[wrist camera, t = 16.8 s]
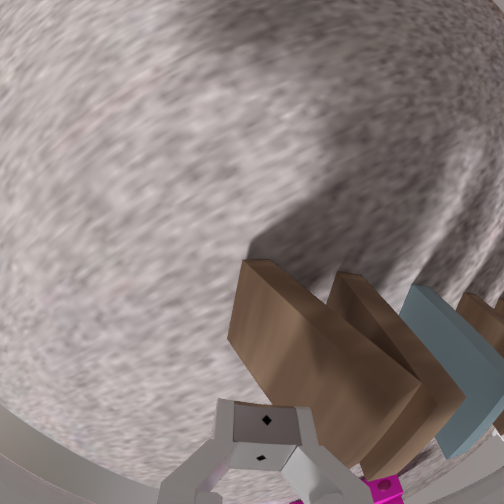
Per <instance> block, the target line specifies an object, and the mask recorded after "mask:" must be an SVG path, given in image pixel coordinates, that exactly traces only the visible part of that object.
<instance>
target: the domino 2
mask: <svg viewBox="0 0 504 504" xmlns="http://www.w3.org/2000/svg"><path fill="white" fill-rule="evenodd" d="M326 305H327V306H328V307H329V308H330V309H332V310H333V311H334V312H335V313H337V314H338V315H339V316H340V317H342V318H343V319H344V320H345V321H347V322H348V323H349V324H350V325H351V326H353V327H354V328H355V329H356V330H358V331H359V332H360V333H361V334H363V335H364V336H365V337H366V338H368V339H369V340H370V341H371V342H372V343H374V344H375V345H376V346H377V347H379V348H380V349H381V350H382V351H384V352H385V353H386V354H387V355H388V356H390V357H391V358H392V359H393V360H395V361H396V362H397V363H398V364H400V365H401V366H402V367H403V368H404V369H406V370H407V371H408V372H409V373H411V374H412V375H413V376H414V377H415V378H417V379H418V380H419V381H420V382H422V384H421V385H420V387H419V388H418V390H417V391H416V393H415V394H414V396H413V397H412V398H411V400H410V401H409V403H408V404H407V406H406V407H405V408H404V410H403V411H402V412H401V414H400V415H399V416H398V418H397V419H396V420H395V421H394V423H393V424H392V425H391V427H390V428H389V429H388V430H387V432H386V433H385V434H384V435H383V436H382V438H381V439H380V440H379V441H378V442H377V443H376V445H375V446H374V447H373V448H372V449H371V450H370V451H369V453H368V454H367V455H366V456H365V457H364V458H363V459H362V460H361V461H360V462H359V463H360V465H361V468H362V471H363V473H364V476H365V479H366V481H367V482H369V481H373V480H377V479H381V478H385V477H388V476H392V475H395V474H397V473H398V472H400V471H401V470H402V469H403V468H404V467H405V466H406V465H407V464H408V463H409V462H410V461H411V460H412V459H413V458H414V457H415V456H416V455H417V454H418V453H419V452H420V451H421V450H422V449H423V448H424V447H425V446H426V445H427V444H428V443H429V442H430V441H431V440H432V439H433V438H434V437H435V435H436V434H437V433H438V432H439V431H440V430H441V429H442V427H443V426H444V425H445V424H446V423H447V422H448V420H449V419H450V418H451V417H452V416H453V414H454V413H455V412H456V410H457V409H458V408H459V407H460V405H461V404H462V403H463V401H464V400H465V399H466V395H465V394H464V393H463V392H462V390H461V389H460V388H459V386H458V385H457V384H456V383H455V381H454V380H453V379H452V378H451V376H450V375H449V374H448V373H447V371H446V370H445V369H444V368H443V367H442V365H441V364H440V363H439V362H438V360H437V359H436V358H435V357H434V356H433V354H432V353H431V352H430V351H429V350H428V349H427V347H426V346H425V345H424V344H423V343H422V342H421V340H420V339H419V338H418V337H417V336H416V335H415V333H414V332H413V331H412V330H411V329H410V328H409V327H408V325H407V324H406V323H405V322H404V321H403V320H402V319H401V318H400V316H399V315H398V314H397V313H396V312H395V311H394V310H393V309H392V308H391V307H390V305H389V304H388V303H387V302H386V301H385V300H384V299H383V298H382V297H381V296H380V295H379V294H378V292H377V291H376V290H375V289H374V288H373V287H372V286H371V285H370V284H369V283H368V282H367V281H366V280H365V279H364V278H363V277H362V276H361V275H356V274H349V273H343V272H337V274H336V277H335V280H334V283H333V286H332V289H331V292H330V295H329V298H328V301H327V304H326Z"/></svg>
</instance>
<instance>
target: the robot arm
mask: <svg viewBox="0 0 504 504" xmlns="http://www.w3.org/2000/svg"><path fill="white" fill-rule="evenodd" d="M497 434H498V435H499V436H500V434H499V433H498V431H497V430H496V428H495V429H494V431H493V433H492V435H493V436H496V435H497ZM500 437H501V439H502V440H503V441H504V435H502V436H500ZM229 468H232V469H247V470H264V471H281V472H280V473H281V474H282V476H283V477H284V478H285V480H286V481H287V482H288V484H289V485H290V486H291V487H292V489H293V490H294V491H295V493H296V494H297V495H298V496H299V498H300V499H301V500H302V501H303V503H304V504H374V502H373V498H372V495H371V491H370V488H369V487H368V486H367V485H366V484H365V483H364V482H363V481H361V480H360V479H359V478H358V477H357V476H356V475H355V474H353V473H352V472H351V471H350V470H349V469H348V468H347V467H346V466H345V465H343V464H342V463H341V462H340V461H339V460H338V459H337V458H336V457H335V456H334V455H333V454H332V453H331V452H329V451H328V450H327V449H326V448H325V447H324V446H319V443H318V438H317V434H316V429H315V425H314V420H313V416H312V411H311V409H310V408H309V407H294V406H281V405H266V404H264V405H262V404H254V403H247V402H240V401H232V400H226V399H220V398H218V400H217V405H216V410H215V415H214V420H213V426H212V433H211V439H208V440H207V441H206V442H205V443H204V444H203V445H202V446H201V447H200V448H199V449H198V450H197V451H196V452H195V453H194V454H192V455H191V456H190V457H189V458H188V459H187V460H186V461H185V462H184V463H183V464H182V465H180V466H179V467H178V468H177V469H176V470H175V471H174V472H173V473H171V474H170V475H169V476H168V477H167V478H166V479H164V480H163V481H162V482H161V486H160V491H159V496H158V501H157V504H222V496H220V495H219V494H218V493H215V492H210V491H211V490H212V489H213V488H214V487H215V486H216V484H217V483H218V482H219V481H220V480H221V479H222V477H223V476H224V475H225V474H226V473H227V471H228V470H229ZM0 504H96V503H93V502H91V501H88V500H86V499H84V498H81V497H79V496H76V495H74V494H72V493H70V492H67V491H65V490H63V489H61V488H59V487H57V486H55V485H53V484H51V483H49V482H47V481H45V480H43V479H41V478H40V477H38V476H36V475H34V474H32V473H31V472H29V471H27V470H26V469H24V468H22V467H20V466H19V465H17V464H16V463H14V462H13V461H11V460H10V459H8V458H7V457H5V456H4V455H2V454H1V453H0ZM428 504H504V466H503V467H501V468H500V469H498V470H496V471H495V472H493V473H491V474H489V475H488V476H486V477H485V478H483V479H480V480H479V481H477V482H475V483H473V484H471V485H469V486H467V487H465V488H463V489H461V490H459V491H457V492H455V493H452V494H450V495H448V496H446V497H443V498H441V499H439V500H436V501H433V502H431V503H428Z"/></svg>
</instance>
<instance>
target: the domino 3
mask: <svg viewBox="0 0 504 504" xmlns="http://www.w3.org/2000/svg"><path fill="white" fill-rule="evenodd" d="M399 316H400V318H401V319H402V320H403V321H404V322H405V323H406V324H407V325H408V327H409V328H410V329H411V330H412V331H413V332H414V333H415V335H416V336H417V337H418V338H419V339H420V340H421V342H422V343H423V344H424V345H425V346H426V347H427V349H428V350H429V351H430V352H431V353H432V354H433V356H434V357H435V358H436V359H437V360H438V362H439V363H440V364H441V365H442V367H443V368H444V369H445V370H446V371H447V373H448V374H449V375H450V376H451V378H452V379H453V380H454V381H455V383H456V384H457V385H458V386H459V388H460V389H461V390H462V392H463V393H464V394H465V395H466V399H465V400H464V401H463V403H462V404H461V405H460V407H459V408H458V409H457V410H456V412H455V413H454V414H453V416H452V417H451V418H450V419H449V420H448V422H447V423H446V424H445V425H444V426H443V427H442V429H441V430H440V431H439V432H438V433H437V434H436V435H435V438H436V440H437V442H438V444H439V446H440V448H441V450H442V452H443V454H444V456H445V458H446V460H447V459H450V458H453V457H455V456H458V455H461V454H463V453H465V452H466V451H467V450H468V449H469V448H470V447H471V446H472V445H473V444H474V443H475V442H476V441H477V440H478V439H479V438H480V437H481V436H482V435H483V434H484V433H485V431H486V430H487V429H488V428H489V427H490V426H491V425H492V423H493V422H494V421H495V420H496V419H497V417H498V416H499V415H500V414H501V412H502V411H503V410H504V358H503V357H502V356H501V355H500V354H499V353H498V352H497V351H496V350H495V349H494V348H493V347H492V346H491V345H490V344H489V343H488V342H487V341H486V340H485V339H484V338H483V337H482V336H481V335H480V334H479V333H478V332H477V331H476V330H475V329H474V328H473V327H472V326H471V325H470V324H469V323H468V322H467V321H466V320H465V319H464V318H463V317H462V316H461V315H460V314H458V313H457V312H456V311H455V310H454V309H453V308H452V307H451V306H450V305H449V304H448V303H447V302H445V301H444V300H443V299H442V298H441V297H440V296H439V295H438V294H437V293H435V292H434V291H433V290H432V289H431V288H430V287H426V286H420V285H414V284H412V285H411V288H410V290H409V293H408V295H407V298H406V300H405V302H404V305H403V307H402V309H401V312H400V314H399Z"/></svg>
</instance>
